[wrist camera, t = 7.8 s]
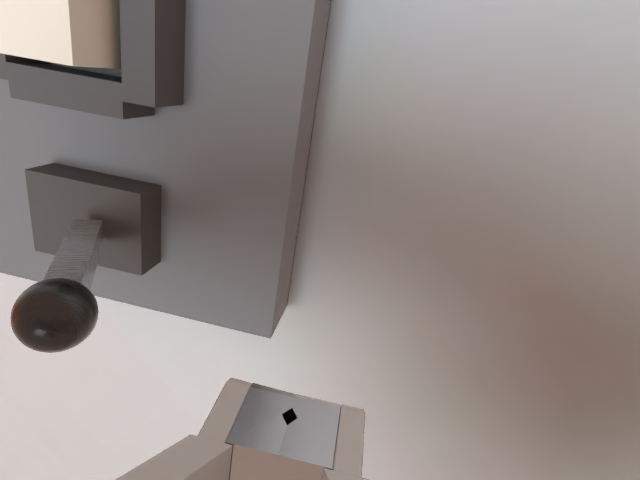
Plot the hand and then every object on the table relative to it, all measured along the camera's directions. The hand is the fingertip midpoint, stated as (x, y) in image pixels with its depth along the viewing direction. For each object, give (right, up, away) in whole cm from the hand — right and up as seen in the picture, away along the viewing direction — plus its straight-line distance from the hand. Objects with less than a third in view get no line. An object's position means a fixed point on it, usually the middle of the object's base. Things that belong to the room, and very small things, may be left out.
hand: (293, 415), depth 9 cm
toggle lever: (-9, +4, +7) cm, 12 cm away
